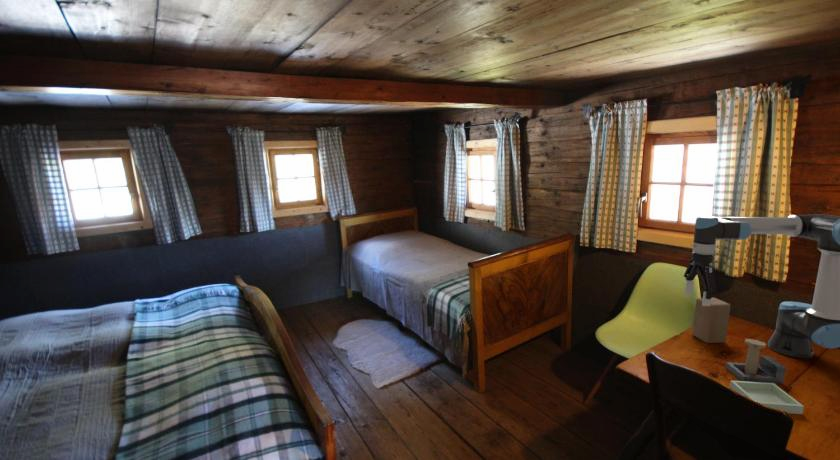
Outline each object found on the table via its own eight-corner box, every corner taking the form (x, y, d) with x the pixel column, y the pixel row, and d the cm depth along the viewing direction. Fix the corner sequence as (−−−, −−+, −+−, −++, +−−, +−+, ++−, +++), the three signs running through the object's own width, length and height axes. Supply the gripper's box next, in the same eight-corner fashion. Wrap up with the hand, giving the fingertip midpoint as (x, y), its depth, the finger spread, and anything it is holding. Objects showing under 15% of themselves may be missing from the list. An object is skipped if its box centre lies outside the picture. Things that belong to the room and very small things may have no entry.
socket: (764, 369, 160) (767, 354, 159) (785, 385, 150) (788, 368, 149) (725, 367, 163) (727, 352, 161) (742, 382, 152) (745, 366, 151)
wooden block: (690, 334, 193) (695, 297, 189) (709, 333, 194) (714, 296, 190) (707, 344, 183) (712, 305, 179) (726, 343, 184) (732, 304, 180)
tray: (772, 390, 147) (773, 383, 146) (802, 414, 133) (803, 406, 132) (729, 387, 149) (730, 380, 148) (754, 410, 135) (755, 402, 135)
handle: (760, 381, 153) (766, 346, 150) (739, 375, 157) (745, 342, 154) (760, 375, 156) (765, 342, 154) (739, 370, 160) (744, 337, 158)
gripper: (678, 245, 174) (673, 289, 178) (710, 260, 150) (703, 310, 154) (696, 246, 173) (690, 290, 177) (731, 260, 149) (724, 311, 152)
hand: (696, 299), depth 165 cm, fingers open, 13 cm apart
